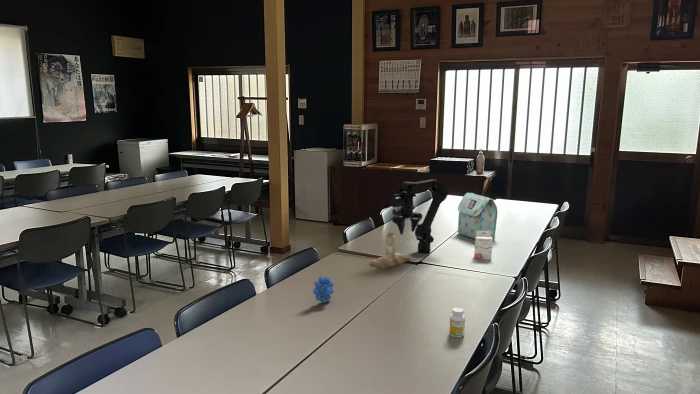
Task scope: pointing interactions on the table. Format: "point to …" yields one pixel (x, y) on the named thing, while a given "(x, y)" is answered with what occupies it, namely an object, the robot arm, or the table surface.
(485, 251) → the ink cartridge box
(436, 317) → the table surface
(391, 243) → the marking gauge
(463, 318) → the supplement bottle
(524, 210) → the table surface
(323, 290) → the blue knobbly wheel
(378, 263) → the oak board
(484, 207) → the lunch bag
